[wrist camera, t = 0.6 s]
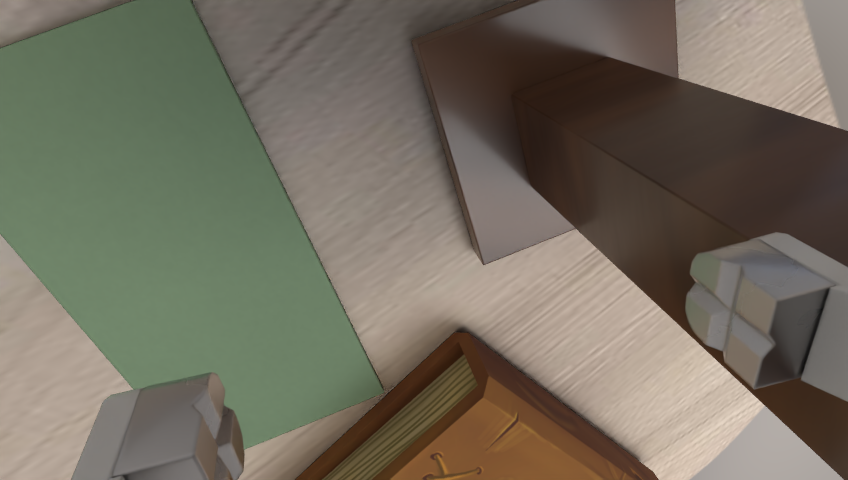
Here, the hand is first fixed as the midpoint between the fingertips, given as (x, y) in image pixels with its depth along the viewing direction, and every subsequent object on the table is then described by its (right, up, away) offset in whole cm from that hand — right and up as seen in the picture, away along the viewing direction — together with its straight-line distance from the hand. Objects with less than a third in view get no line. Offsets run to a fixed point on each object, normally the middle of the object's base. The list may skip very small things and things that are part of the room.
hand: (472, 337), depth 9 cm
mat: (-12, 0, +18) cm, 22 cm away
